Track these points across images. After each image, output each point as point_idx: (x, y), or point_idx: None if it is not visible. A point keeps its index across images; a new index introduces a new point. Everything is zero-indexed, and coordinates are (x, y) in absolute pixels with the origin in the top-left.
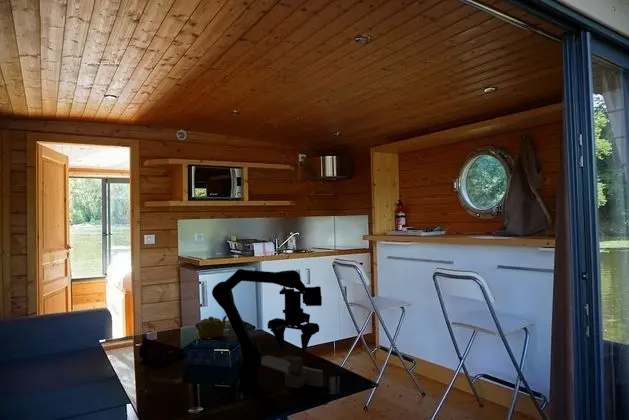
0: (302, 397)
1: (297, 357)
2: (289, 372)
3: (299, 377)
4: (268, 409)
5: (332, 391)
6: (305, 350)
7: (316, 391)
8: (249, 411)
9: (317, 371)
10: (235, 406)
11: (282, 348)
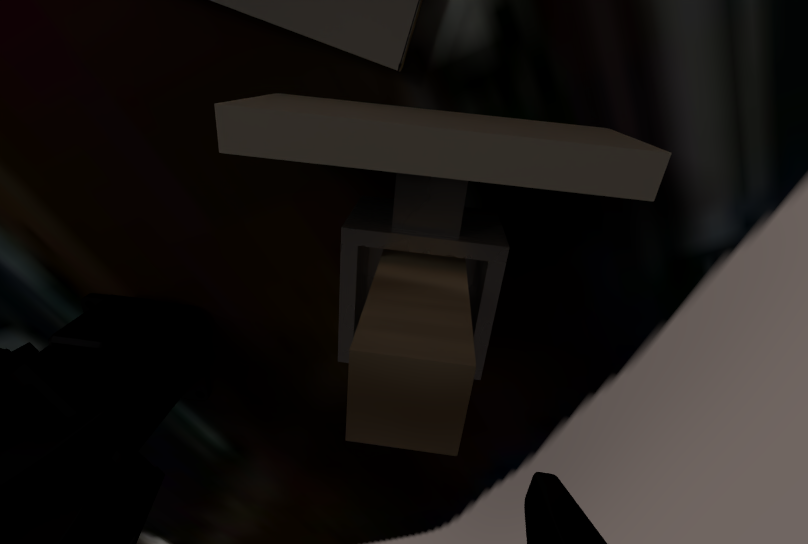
0: (519, 357)
1: (401, 370)
2: (354, 322)
3: (480, 367)
4: (412, 501)
5: (710, 208)
6: (568, 509)
7: (582, 248)
8: (347, 528)
9: (609, 195)
10: (262, 509)
11: (116, 442)
